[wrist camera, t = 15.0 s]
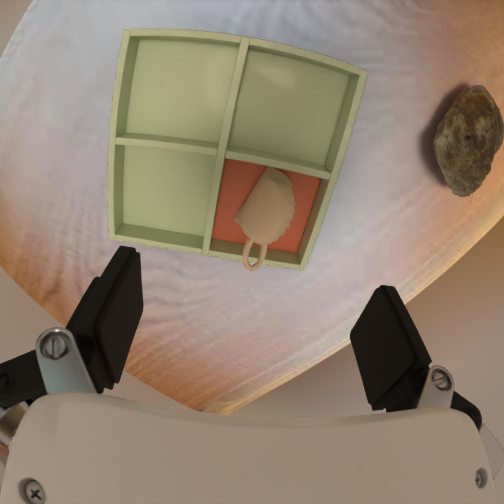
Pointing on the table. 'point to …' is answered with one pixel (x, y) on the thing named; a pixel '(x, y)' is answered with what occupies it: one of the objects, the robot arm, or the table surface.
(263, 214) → the decorative ornament
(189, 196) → the grid
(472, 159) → the stone
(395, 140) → the table surface
